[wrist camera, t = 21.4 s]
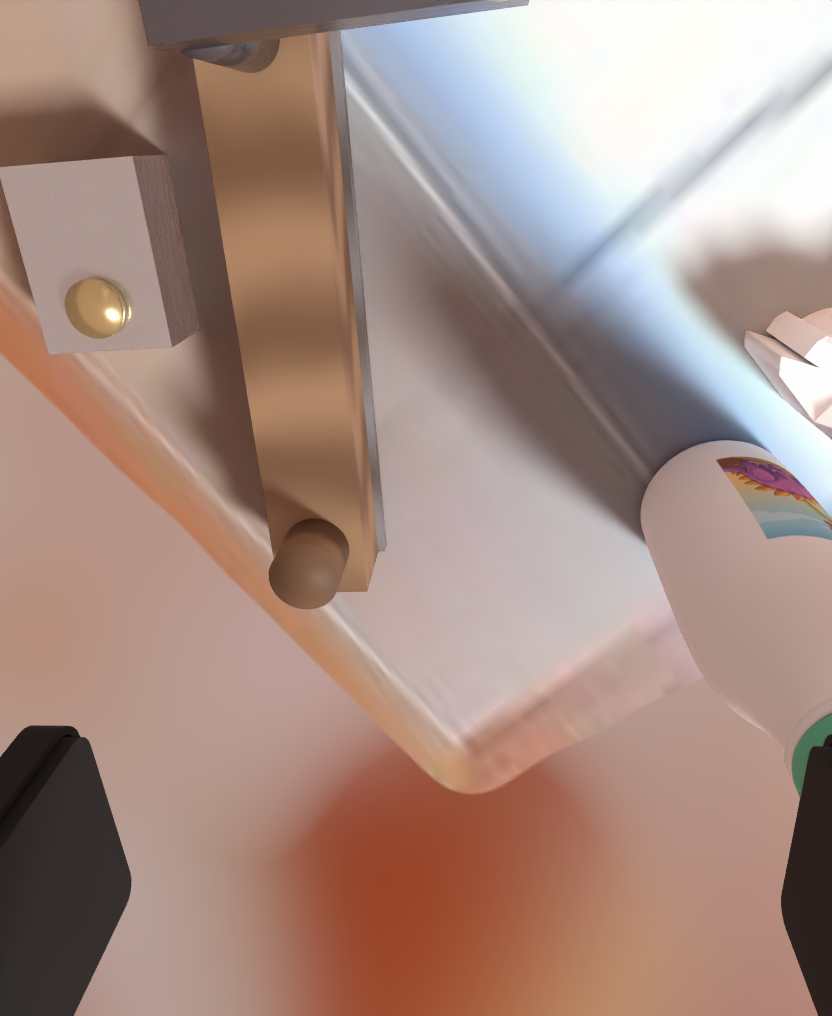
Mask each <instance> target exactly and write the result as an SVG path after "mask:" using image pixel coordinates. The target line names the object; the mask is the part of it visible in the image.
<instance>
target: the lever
mask: <svg viewBox="0 0 832 1016" xmlns="http://www.w3.org/2000/svg"><path fill="white" fill-rule="evenodd" d="M528 3H529V0H139V4H140V9H141V13H142V18H143V23H144V27H145V32H146V37H147V41H148V46H152V47H156V48H159V49H163V50H167V51H170V52H181V53H183V54H184V55H186V56H188V57H191V58H194V59H197V60H201V61H205V62H208V63H212V64H216V65H219V66H223V67H227V68H230V69H234V70H238V71H241V72H245V73H256V72H260V71H262V70H264V69H266V68H267V67H268V66H269V65H270V64H271V63H272V62H273V60H274V59H275V57H276V55H277V52H278V49H279V44H280V38H286V37H293V36H301V35H308V34H316V33H323V32H331V31H338V30H345V29H353V28H360V27H368V26H375V25H383V24H390V23H398V22H405V21H413V20H420V19H428V18H435V17H442V16H450V15H457V14H465V13H472V12H480V11H487V10H495V9H502V8H510V7H517V6H525V5H528Z"/></svg>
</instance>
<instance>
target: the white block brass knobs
mask: <svg viewBox="0 0 832 1016" xmlns="http://www.w3.org/2000/svg"><path fill="white" fill-rule="evenodd" d="M0 179H1V183H2V187H3V190H4V194H5V198H6V201H7V205H8V208H9V212H10V216H11V219H12V223H13V226H14V230H15V234H16V237H17V241H18V244H19V248H20V252H21V255H22V259H23V262H24V266H25V270H26V273H27V277H28V281H29V284H30V288H31V291H32V295H33V299H34V302H35V306H36V309H37V313H38V317H39V320H40V324H41V327H42V331H43V335H44V338H45V342H46V346H47V349H48V353H49V354H64V353H83V352H101V351H119V350H138V349H156V348H172V347H174V346H176V345H177V344H179V343H180V342H182V341H183V340H185V339H186V338H188V337H189V336H191V335H193V334H194V333H196V332H197V331H199V330H200V325H199V320H198V315H197V310H196V304H195V299H194V294H193V289H192V284H191V278H190V273H189V268H188V263H187V257H186V252H185V247H184V242H183V236H182V231H181V226H180V221H179V215H178V210H177V205H176V200H175V195H174V189H173V184H172V179H171V174H170V168H169V163H168V158H167V155H146V156H127V157H115V158H104V159H92V160H80V161H68V162H56V163H44V164H32V165H20V166H8V167H0Z"/></svg>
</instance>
